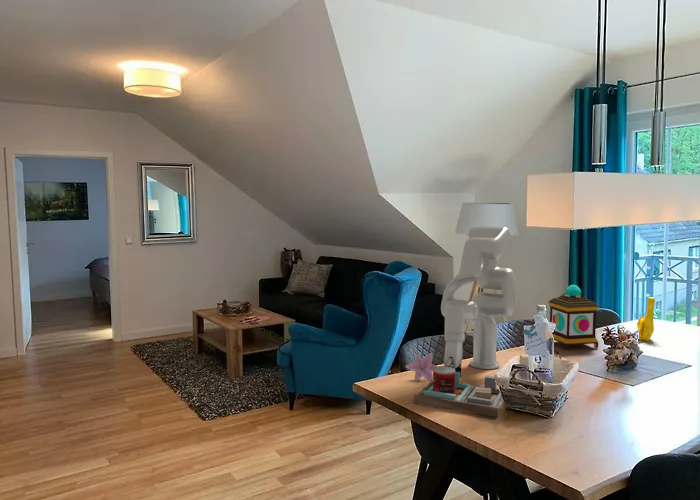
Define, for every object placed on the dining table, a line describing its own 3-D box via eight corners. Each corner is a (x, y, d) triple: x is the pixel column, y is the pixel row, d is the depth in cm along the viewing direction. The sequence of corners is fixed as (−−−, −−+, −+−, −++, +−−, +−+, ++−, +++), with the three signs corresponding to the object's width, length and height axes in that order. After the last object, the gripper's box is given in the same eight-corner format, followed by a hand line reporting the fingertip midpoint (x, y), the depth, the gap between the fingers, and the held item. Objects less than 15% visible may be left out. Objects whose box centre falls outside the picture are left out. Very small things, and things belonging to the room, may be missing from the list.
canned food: (441, 394, 206) (441, 364, 205) (459, 399, 201) (459, 369, 200) (428, 399, 201) (428, 369, 200) (446, 405, 195) (447, 374, 194)
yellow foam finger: (639, 335, 295) (641, 293, 293) (656, 337, 290) (658, 295, 288) (632, 342, 281) (633, 298, 279) (649, 344, 276) (651, 300, 274)
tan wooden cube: (476, 400, 200) (476, 387, 199) (490, 402, 198) (491, 388, 198) (475, 405, 195) (476, 391, 194) (490, 407, 194) (490, 393, 193)
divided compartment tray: (431, 384, 217) (432, 377, 216) (508, 395, 205) (509, 387, 204) (413, 403, 197) (414, 395, 196) (497, 416, 185) (498, 408, 184)
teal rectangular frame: (437, 383, 218) (437, 369, 217) (472, 387, 212) (472, 373, 212) (420, 401, 198) (420, 386, 197) (457, 407, 192) (458, 392, 192)
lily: (401, 379, 226) (403, 362, 221) (416, 362, 234) (418, 345, 228) (427, 394, 220) (430, 377, 215) (442, 376, 228) (445, 359, 223)
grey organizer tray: (476, 388, 212) (477, 374, 211) (505, 392, 207) (505, 377, 207) (463, 408, 191) (463, 392, 191) (494, 413, 187) (494, 397, 187)
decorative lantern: (602, 349, 267) (605, 287, 264) (565, 352, 263) (567, 288, 260) (577, 339, 287) (579, 281, 284) (541, 341, 282) (543, 282, 280)
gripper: (450, 330, 222) (449, 373, 223) (438, 340, 206) (437, 385, 207) (469, 332, 218) (468, 375, 220) (458, 342, 203) (458, 388, 204)
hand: (453, 380), depth 214 cm, fingers open, 9 cm apart
